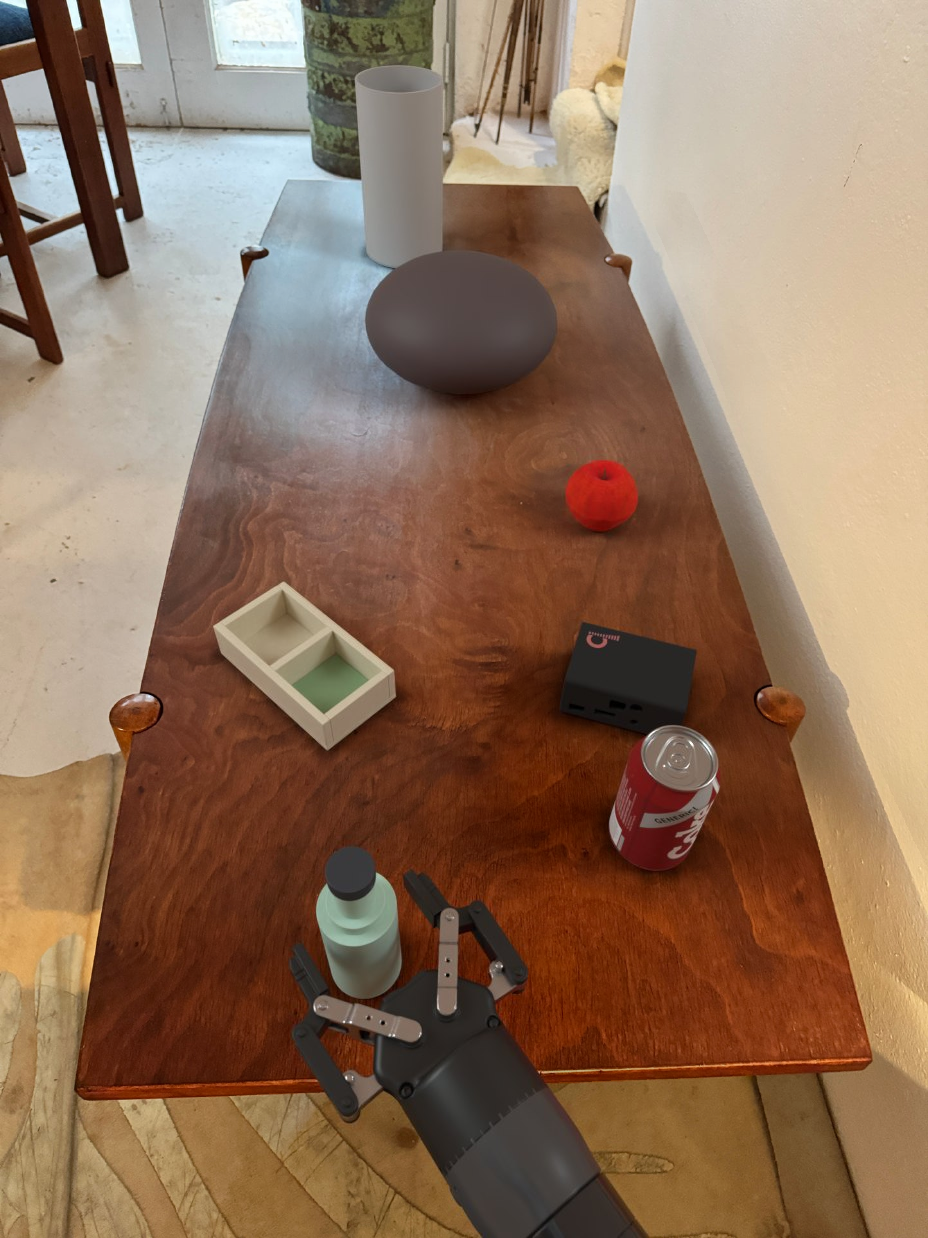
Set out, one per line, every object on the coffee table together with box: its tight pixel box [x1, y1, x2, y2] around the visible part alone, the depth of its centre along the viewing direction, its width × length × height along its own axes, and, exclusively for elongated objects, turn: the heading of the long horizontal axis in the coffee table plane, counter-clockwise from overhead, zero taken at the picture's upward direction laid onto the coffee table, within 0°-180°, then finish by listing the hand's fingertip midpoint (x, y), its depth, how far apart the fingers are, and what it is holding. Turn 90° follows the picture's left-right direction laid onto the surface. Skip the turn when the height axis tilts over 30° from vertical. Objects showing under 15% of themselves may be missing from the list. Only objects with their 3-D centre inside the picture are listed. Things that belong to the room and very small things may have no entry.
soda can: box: [608, 725, 722, 872], centre depth 65 cm, size 7×7×12 cm
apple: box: [565, 459, 639, 533], centre depth 93 cm, size 8×8×7 cm
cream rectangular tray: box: [212, 581, 397, 751], centre depth 78 cm, size 8×16×4 cm, turn 46°
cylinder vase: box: [354, 64, 444, 269], centre depth 129 cm, size 12×12×25 cm
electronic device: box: [558, 621, 698, 735], centre depth 77 cm, size 7×11×5 cm
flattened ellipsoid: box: [364, 249, 558, 395], centre depth 110 cm, size 25×25×15 cm
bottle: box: [315, 845, 403, 1000], centre depth 56 cm, size 5×5×15 cm
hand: (353, 911), depth 56 cm, fingers open, 8 cm apart
